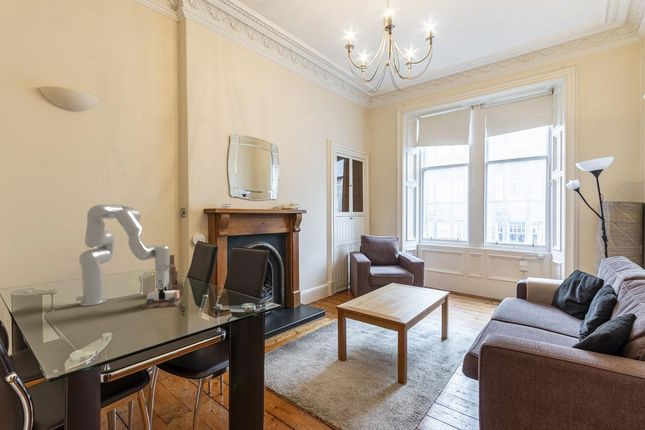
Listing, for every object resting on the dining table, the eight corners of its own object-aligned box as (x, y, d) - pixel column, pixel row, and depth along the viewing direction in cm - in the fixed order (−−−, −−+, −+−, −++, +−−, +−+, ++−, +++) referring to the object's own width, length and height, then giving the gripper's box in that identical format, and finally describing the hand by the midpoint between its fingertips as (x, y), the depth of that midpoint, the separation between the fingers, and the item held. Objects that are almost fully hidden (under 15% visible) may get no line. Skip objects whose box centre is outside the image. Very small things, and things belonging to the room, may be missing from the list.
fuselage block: (147, 301, 174) (146, 294, 174) (150, 298, 179) (150, 291, 179) (177, 299, 177) (176, 292, 177) (179, 296, 182) (179, 289, 182)
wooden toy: (183, 293, 197) (182, 255, 197) (172, 295, 193) (171, 256, 192) (178, 288, 210) (177, 252, 209) (167, 290, 205) (166, 253, 205)
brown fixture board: (142, 308, 169) (142, 301, 169) (151, 300, 183) (151, 294, 183) (176, 306, 173) (176, 299, 173) (183, 298, 186) (183, 292, 186)
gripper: (160, 264, 185) (161, 294, 185) (150, 270, 168) (151, 303, 169) (173, 264, 186) (174, 293, 187) (164, 269, 170) (165, 302, 170)
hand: (163, 297), depth 178 cm, fingers closed on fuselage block, 5 cm apart
